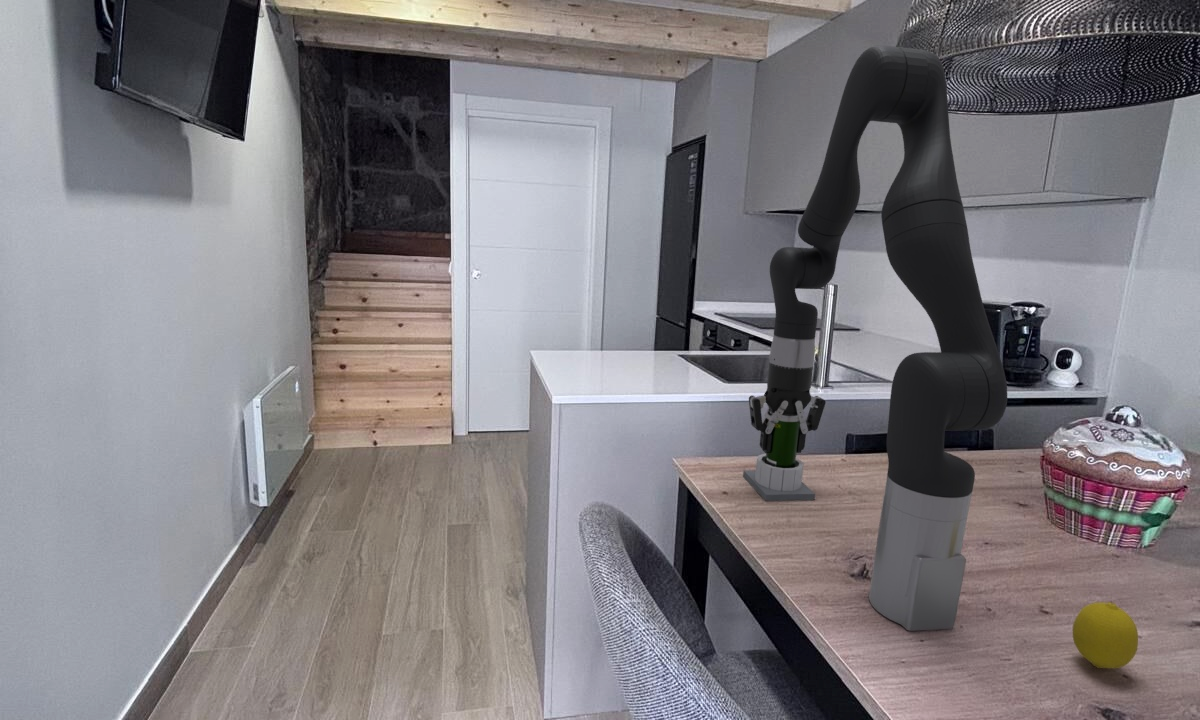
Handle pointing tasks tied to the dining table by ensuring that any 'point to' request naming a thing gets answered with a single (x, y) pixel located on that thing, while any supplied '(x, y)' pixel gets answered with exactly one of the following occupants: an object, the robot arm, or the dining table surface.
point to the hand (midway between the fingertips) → (781, 451)
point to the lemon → (1105, 635)
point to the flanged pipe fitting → (778, 481)
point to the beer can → (784, 442)
